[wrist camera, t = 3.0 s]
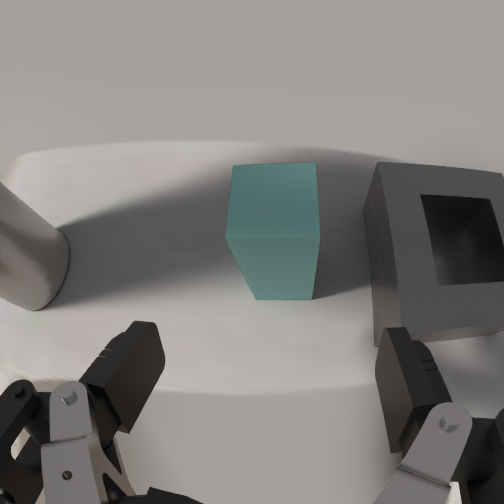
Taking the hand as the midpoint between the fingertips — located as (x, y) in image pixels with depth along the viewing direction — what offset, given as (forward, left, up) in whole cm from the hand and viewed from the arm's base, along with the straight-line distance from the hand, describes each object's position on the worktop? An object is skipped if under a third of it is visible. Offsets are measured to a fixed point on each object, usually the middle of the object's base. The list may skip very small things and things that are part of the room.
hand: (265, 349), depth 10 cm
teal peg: (0, +7, -11) cm, 13 cm away
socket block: (+12, +7, -11) cm, 17 cm away
